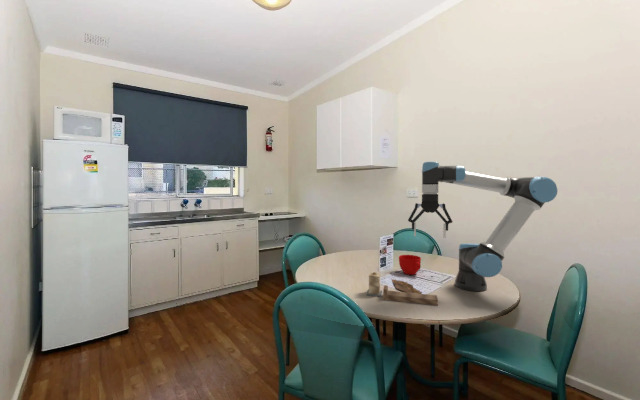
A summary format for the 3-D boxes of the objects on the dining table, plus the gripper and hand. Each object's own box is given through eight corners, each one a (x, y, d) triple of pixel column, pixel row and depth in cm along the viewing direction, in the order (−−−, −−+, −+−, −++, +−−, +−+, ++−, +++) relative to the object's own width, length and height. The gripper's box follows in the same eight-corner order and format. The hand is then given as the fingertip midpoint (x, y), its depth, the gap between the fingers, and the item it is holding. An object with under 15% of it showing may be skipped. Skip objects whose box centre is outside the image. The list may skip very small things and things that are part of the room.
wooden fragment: (425, 296, 142) (425, 293, 142) (404, 297, 140) (404, 295, 140) (403, 279, 167) (403, 277, 167) (385, 280, 166) (385, 278, 166)
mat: (382, 291, 147) (382, 290, 147) (380, 296, 140) (380, 295, 140) (368, 290, 149) (368, 289, 149) (366, 295, 142) (366, 294, 142)
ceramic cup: (409, 279, 166) (410, 262, 166) (394, 271, 183) (394, 255, 182) (429, 277, 170) (429, 260, 169) (412, 269, 186) (412, 254, 186)
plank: (436, 300, 135) (436, 290, 135) (437, 305, 130) (437, 294, 129) (384, 294, 143) (384, 285, 142) (383, 299, 137) (383, 289, 137)
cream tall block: (379, 291, 146) (380, 272, 146) (379, 294, 141) (379, 275, 141) (370, 290, 148) (370, 271, 147) (368, 293, 143) (368, 274, 142)
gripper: (456, 193, 141) (456, 236, 142) (403, 193, 149) (403, 234, 149) (459, 193, 134) (458, 239, 135) (403, 193, 141) (403, 236, 142)
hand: (429, 236), depth 142 cm, fingers open, 13 cm apart
